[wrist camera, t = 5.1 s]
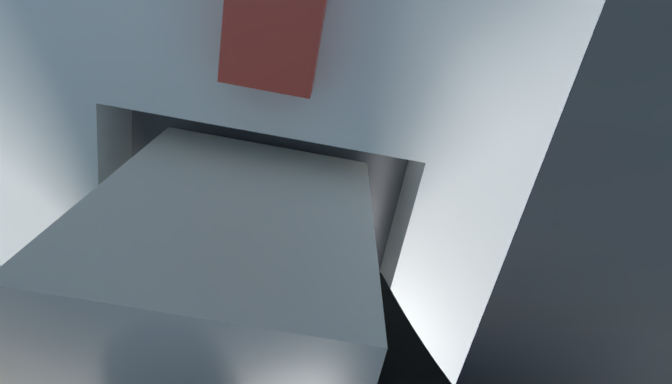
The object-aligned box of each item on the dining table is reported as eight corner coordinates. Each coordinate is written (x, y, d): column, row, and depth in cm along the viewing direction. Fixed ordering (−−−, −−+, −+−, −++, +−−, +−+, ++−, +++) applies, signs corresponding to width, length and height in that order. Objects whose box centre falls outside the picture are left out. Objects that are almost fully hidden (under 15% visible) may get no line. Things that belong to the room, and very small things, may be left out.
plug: (367, 162, 11) (395, 423, 5) (331, 319, 13) (317, 663, 6) (168, 127, 11) (-99, 348, 4) (161, 292, 12) (-34, 620, 6)
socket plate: (572, -46, 10) (652, -52, 7) (399, 449, 16) (409, 539, 13) (20, -161, 9) (-105, -211, 7) (64, 399, 15) (7, 485, 13)
